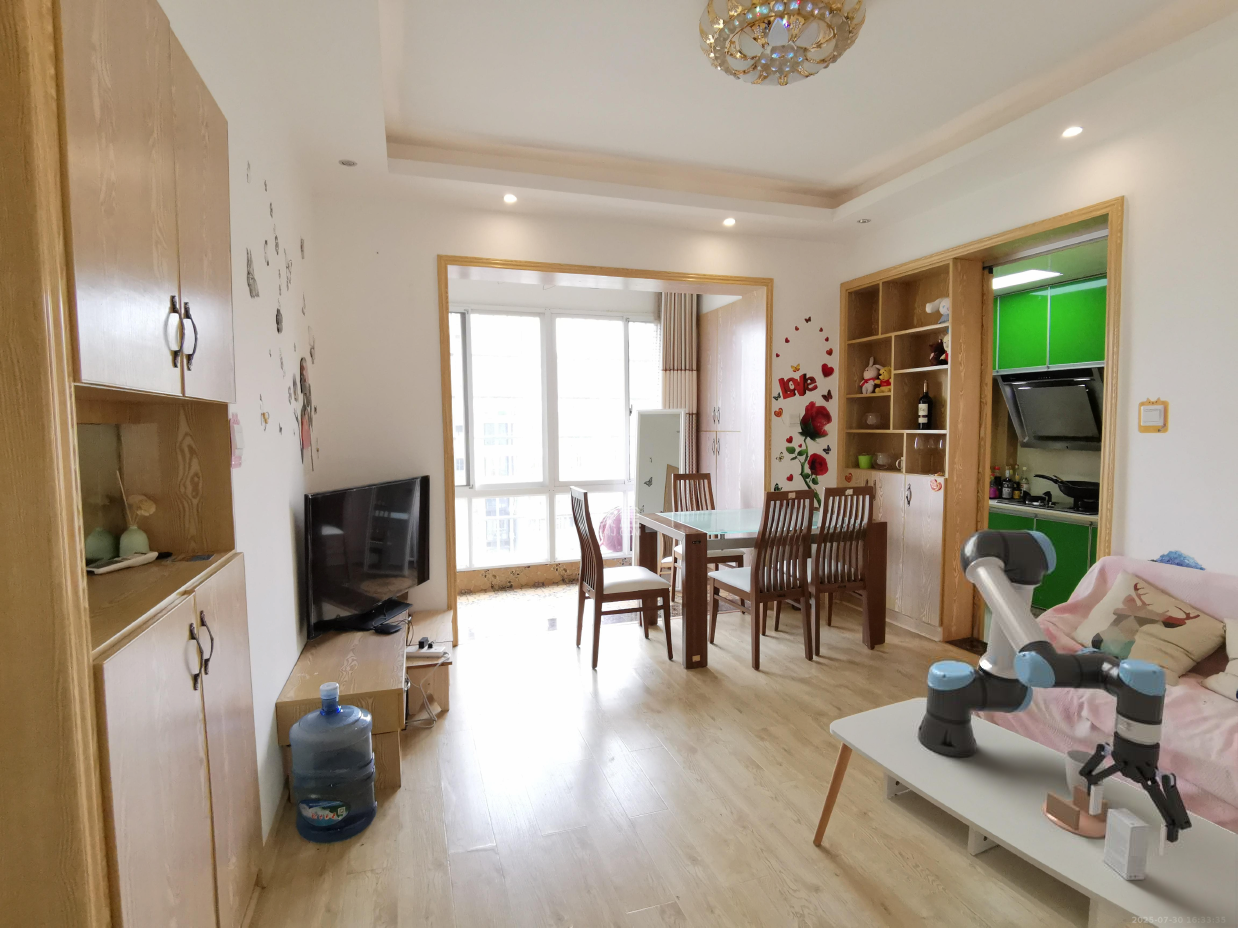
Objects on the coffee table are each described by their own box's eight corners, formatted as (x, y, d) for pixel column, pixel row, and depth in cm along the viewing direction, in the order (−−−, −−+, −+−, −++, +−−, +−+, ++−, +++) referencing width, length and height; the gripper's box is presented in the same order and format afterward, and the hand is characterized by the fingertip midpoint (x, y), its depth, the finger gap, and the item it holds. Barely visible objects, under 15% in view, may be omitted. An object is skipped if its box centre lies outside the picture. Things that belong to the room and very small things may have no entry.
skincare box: (1145, 879, 132) (1150, 826, 131) (1126, 880, 132) (1131, 826, 131) (1120, 858, 138) (1125, 807, 137) (1101, 859, 138) (1106, 808, 137)
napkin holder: (1030, 807, 155) (1031, 786, 155) (1067, 797, 160) (1069, 776, 159) (1084, 842, 143) (1086, 819, 143) (1123, 830, 147) (1125, 808, 147)
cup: (1108, 807, 156) (1112, 769, 155) (1072, 802, 158) (1075, 764, 157) (1091, 788, 164) (1095, 751, 163) (1056, 783, 165) (1059, 747, 164)
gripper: (1064, 711, 142) (1057, 801, 144) (1196, 771, 119) (1186, 877, 121) (1087, 706, 145) (1080, 794, 147) (1221, 764, 122) (1210, 868, 123)
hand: (1128, 832), depth 134 cm, fingers open, 13 cm apart
